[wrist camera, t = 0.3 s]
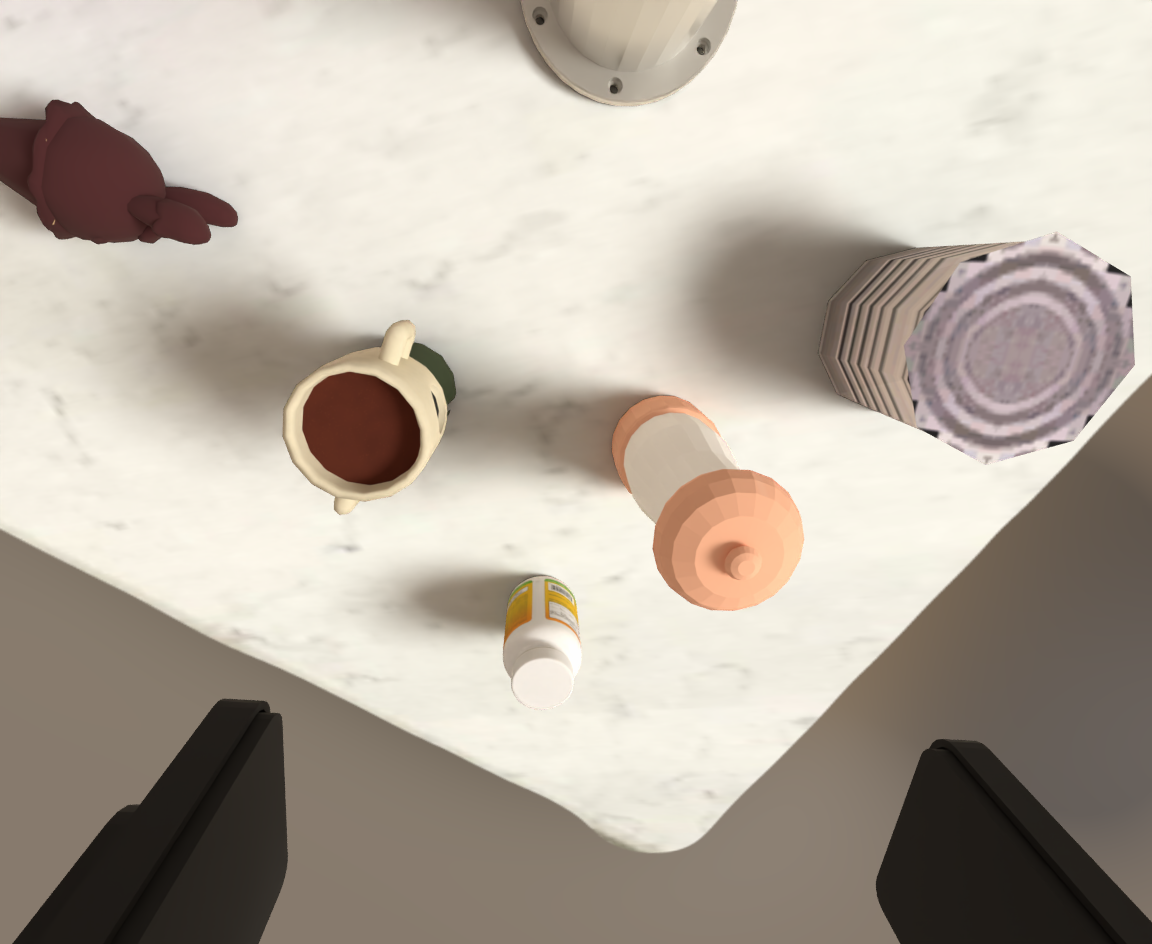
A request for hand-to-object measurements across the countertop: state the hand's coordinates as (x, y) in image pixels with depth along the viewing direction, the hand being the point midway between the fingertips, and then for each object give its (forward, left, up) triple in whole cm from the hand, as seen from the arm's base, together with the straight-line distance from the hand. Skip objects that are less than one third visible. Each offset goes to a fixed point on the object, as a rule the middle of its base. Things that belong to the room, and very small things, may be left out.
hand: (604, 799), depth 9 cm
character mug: (+2, -10, -35) cm, 37 cm away
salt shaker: (+4, +8, -35) cm, 36 cm away
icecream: (-8, -27, -35) cm, 46 cm away
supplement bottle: (+18, +1, -35) cm, 40 cm away
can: (-6, +23, -35) cm, 43 cm away
